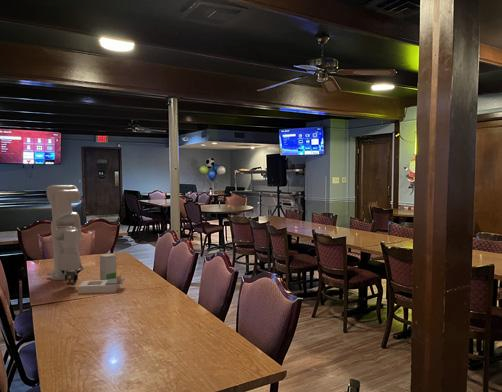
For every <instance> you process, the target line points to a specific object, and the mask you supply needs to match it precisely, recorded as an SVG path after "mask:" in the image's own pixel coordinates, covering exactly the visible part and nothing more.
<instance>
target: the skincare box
mask: <svg viewBox="0 0 502 392" xmlns="http://www.w3.org/2000/svg"><path fill="white" fill-rule="evenodd" d="M117 275H118V274H117V254H113V253H107V254H101V255H99V280H109V279H117Z"/></svg>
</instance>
